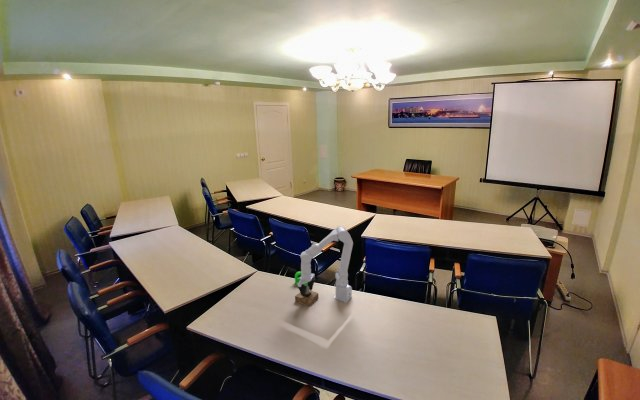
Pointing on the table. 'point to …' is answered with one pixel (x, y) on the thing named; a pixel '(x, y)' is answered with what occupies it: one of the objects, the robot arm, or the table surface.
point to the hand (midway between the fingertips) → (306, 292)
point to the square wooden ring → (307, 298)
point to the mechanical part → (298, 278)
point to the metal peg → (307, 291)
